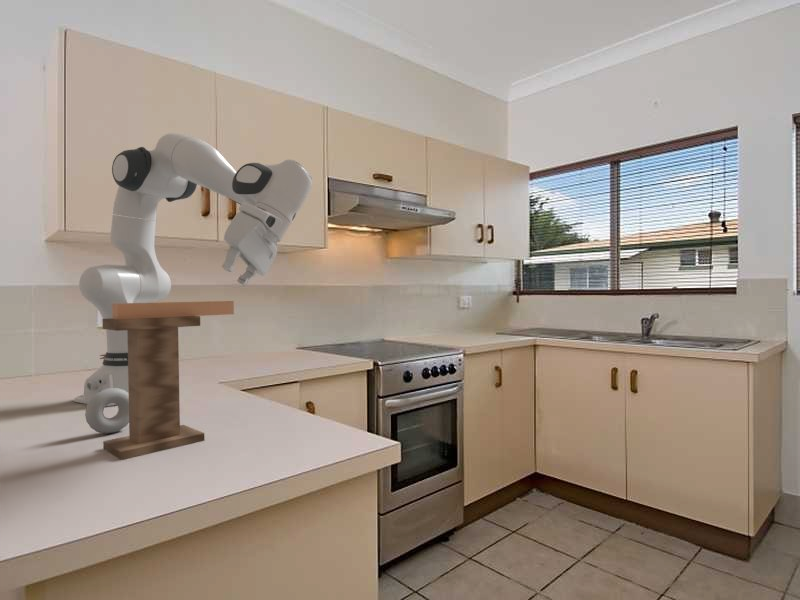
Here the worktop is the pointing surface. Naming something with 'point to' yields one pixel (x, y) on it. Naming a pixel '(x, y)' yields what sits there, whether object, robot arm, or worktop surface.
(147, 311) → the rod
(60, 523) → the worktop surface
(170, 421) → the stand
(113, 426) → the donut
